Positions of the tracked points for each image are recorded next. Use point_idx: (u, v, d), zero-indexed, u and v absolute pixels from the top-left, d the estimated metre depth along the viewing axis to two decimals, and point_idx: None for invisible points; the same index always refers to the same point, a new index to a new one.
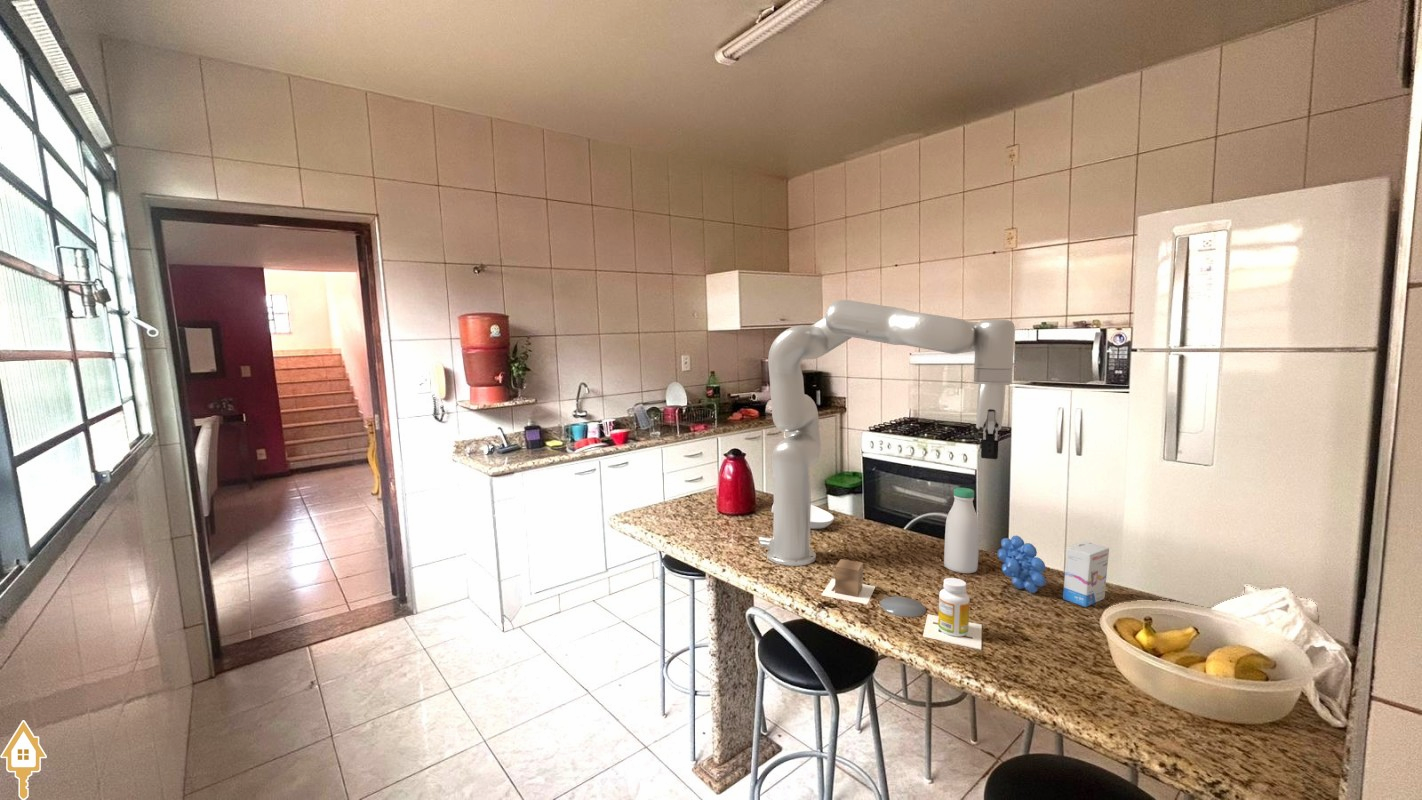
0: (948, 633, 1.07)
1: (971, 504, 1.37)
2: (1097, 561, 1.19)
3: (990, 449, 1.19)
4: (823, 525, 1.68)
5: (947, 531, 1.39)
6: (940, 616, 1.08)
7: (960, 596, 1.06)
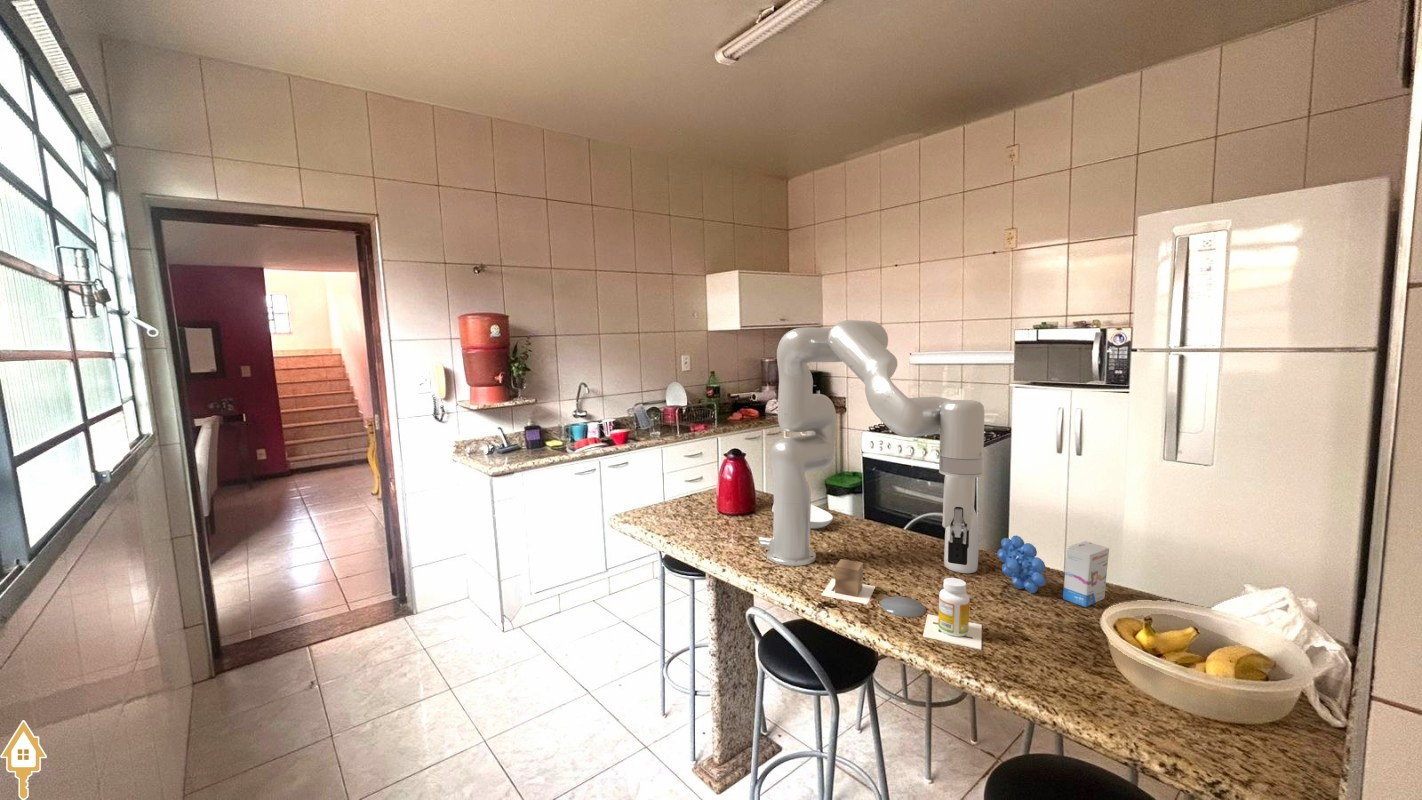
0: (948, 633, 1.07)
1: None
2: (1097, 561, 1.19)
3: (958, 553, 1.02)
4: (821, 525, 1.68)
5: (947, 531, 1.39)
6: (940, 616, 1.08)
7: (960, 596, 1.06)
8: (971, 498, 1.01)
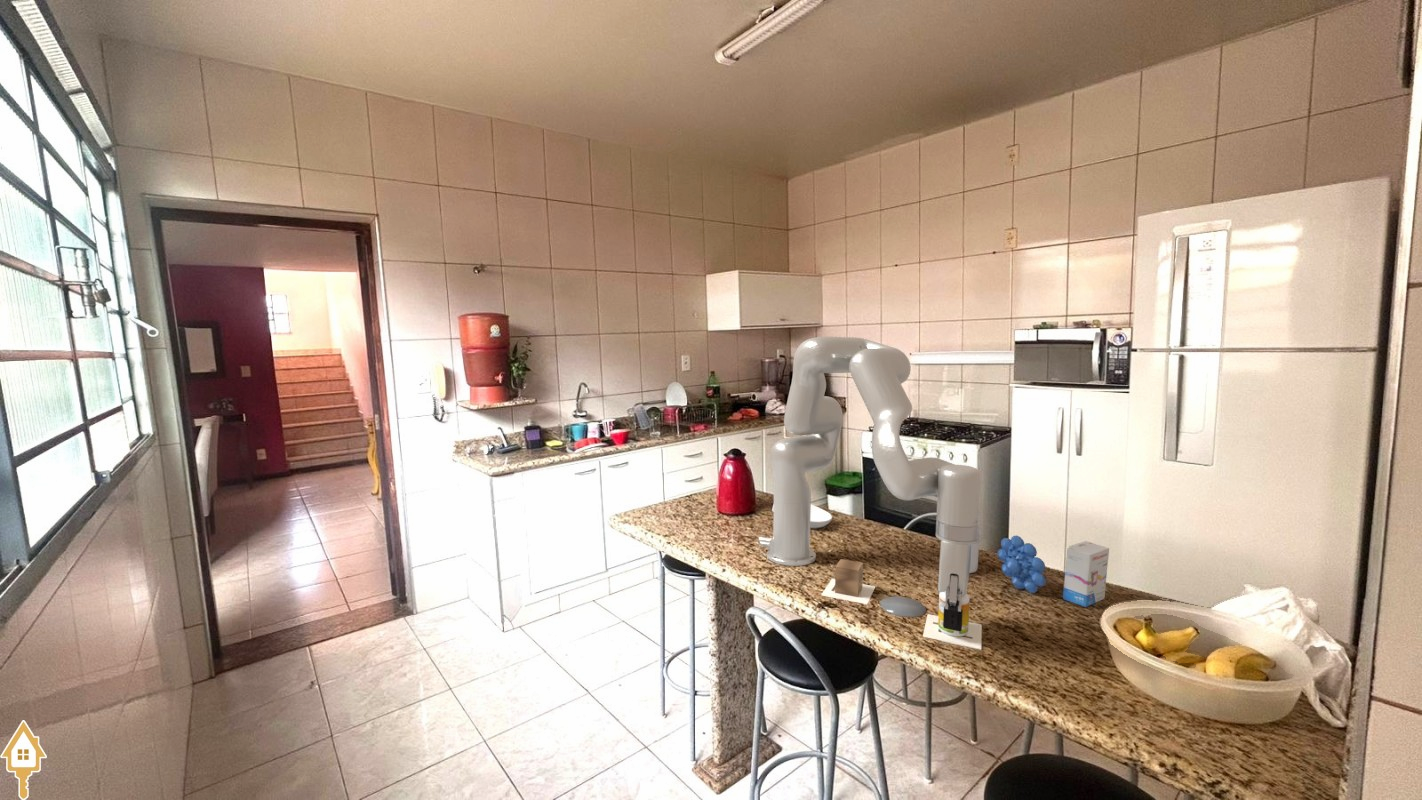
0: (948, 633, 1.07)
1: None
2: (1097, 561, 1.19)
3: (953, 620, 1.05)
4: (820, 524, 1.68)
5: None
6: (940, 616, 1.08)
7: None
8: (967, 565, 1.03)
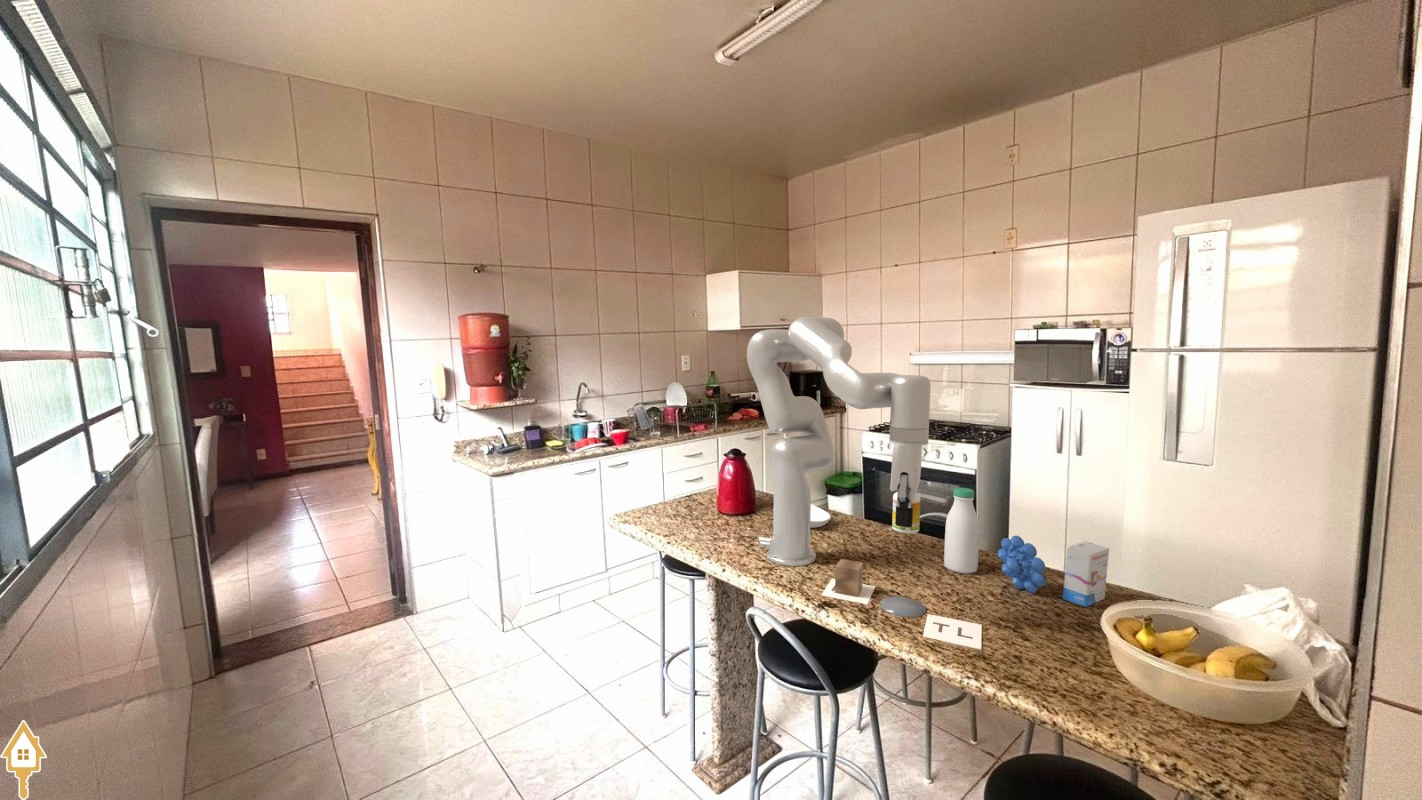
0: (900, 530, 1.15)
1: (971, 504, 1.37)
2: (1097, 561, 1.19)
3: (904, 517, 1.13)
4: (818, 524, 1.69)
5: (947, 531, 1.39)
6: (893, 516, 1.16)
7: None
8: (916, 464, 1.11)
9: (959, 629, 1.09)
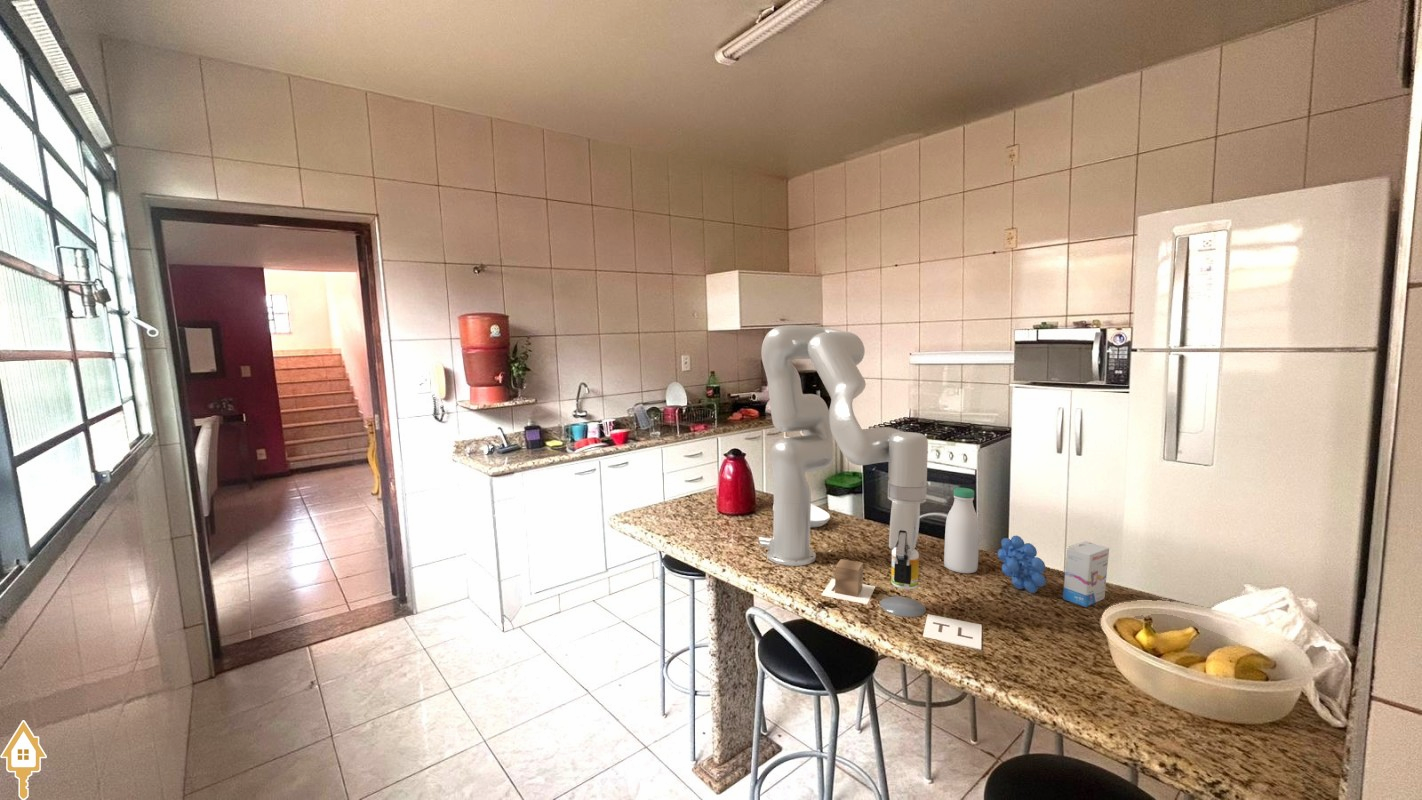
0: (899, 586, 1.16)
1: (971, 504, 1.37)
2: (1097, 561, 1.19)
3: (902, 574, 1.14)
4: (817, 524, 1.69)
5: (947, 531, 1.39)
6: (892, 571, 1.17)
7: None
8: (914, 522, 1.12)
9: (959, 629, 1.09)
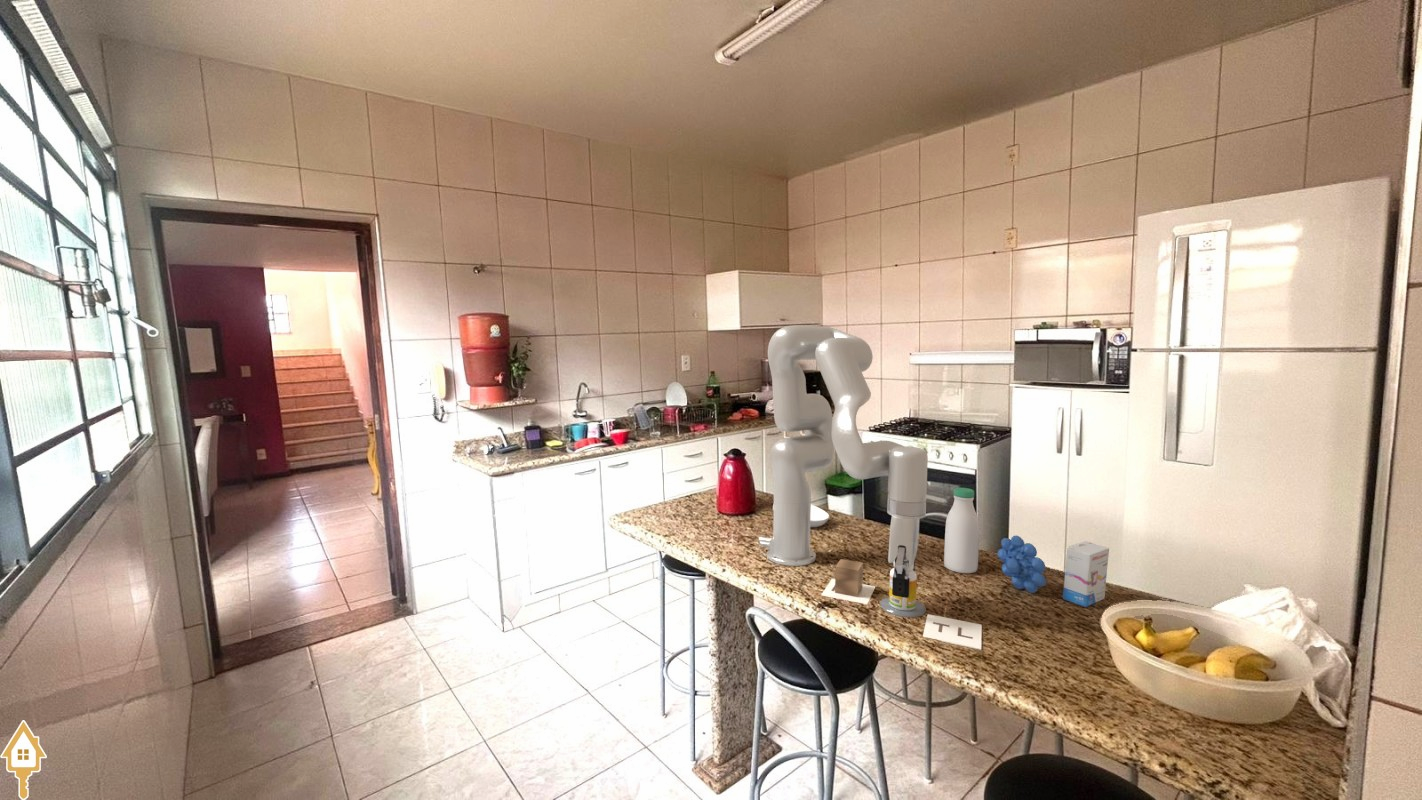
0: (897, 608, 1.17)
1: (971, 504, 1.37)
2: (1097, 561, 1.19)
3: (901, 588, 1.13)
4: (816, 524, 1.69)
5: (947, 531, 1.39)
6: (890, 592, 1.18)
7: (908, 574, 1.16)
8: (913, 538, 1.12)
9: (959, 629, 1.09)
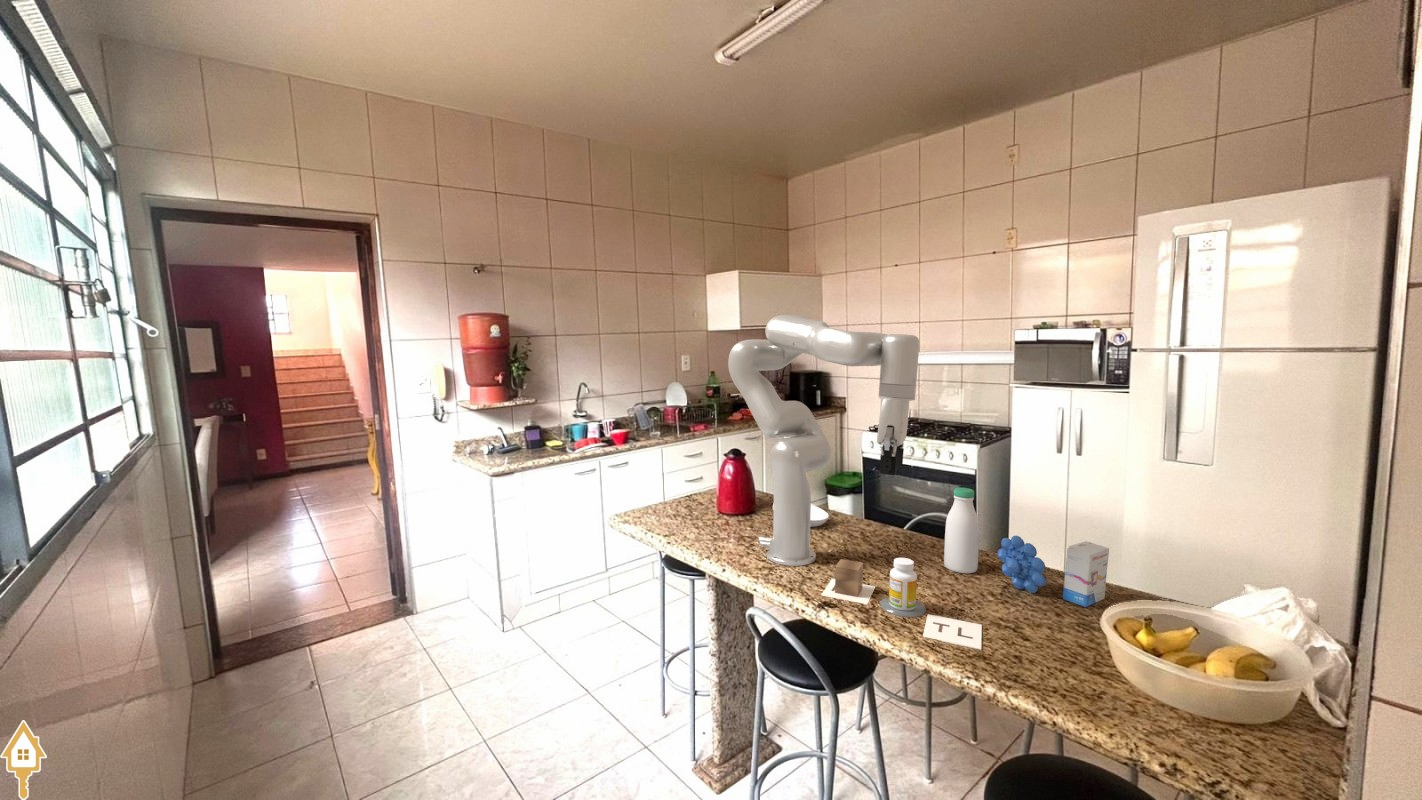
0: (897, 608, 1.17)
1: (971, 504, 1.37)
2: (1097, 561, 1.19)
3: (887, 465, 1.18)
4: (816, 523, 1.69)
5: (947, 531, 1.39)
6: (890, 592, 1.18)
7: (907, 574, 1.16)
8: (902, 418, 1.17)
9: (959, 629, 1.09)
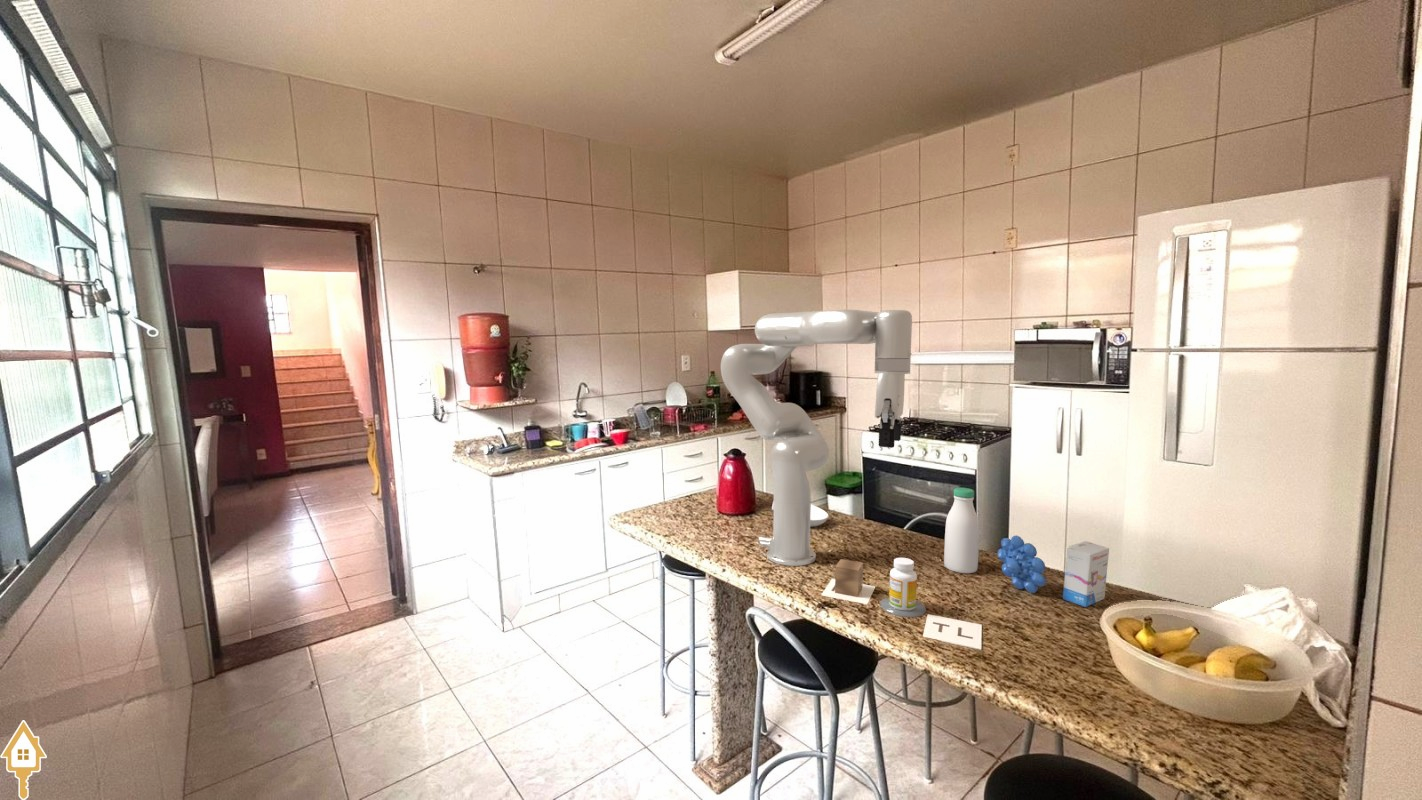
0: (897, 608, 1.17)
1: (971, 504, 1.37)
2: (1097, 561, 1.19)
3: (886, 437, 1.20)
4: (816, 523, 1.70)
5: (947, 531, 1.39)
6: (890, 592, 1.18)
7: (908, 574, 1.16)
8: (898, 391, 1.20)
9: (959, 629, 1.09)
